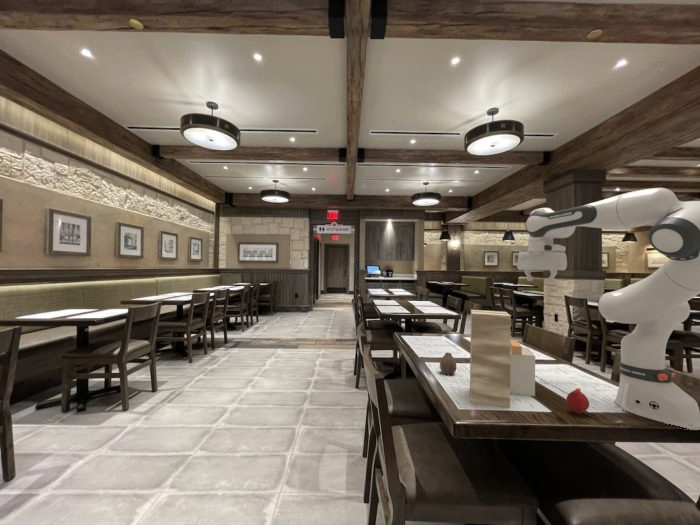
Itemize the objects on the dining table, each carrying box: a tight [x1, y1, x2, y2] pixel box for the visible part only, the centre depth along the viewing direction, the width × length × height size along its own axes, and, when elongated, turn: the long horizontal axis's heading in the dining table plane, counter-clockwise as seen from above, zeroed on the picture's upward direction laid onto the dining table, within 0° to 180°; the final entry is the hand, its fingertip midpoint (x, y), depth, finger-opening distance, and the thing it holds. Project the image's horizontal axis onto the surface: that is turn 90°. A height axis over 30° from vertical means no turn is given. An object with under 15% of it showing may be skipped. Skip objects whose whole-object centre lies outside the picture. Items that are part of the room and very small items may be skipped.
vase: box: [439, 352, 457, 375], centre depth 141 cm, size 7×7×9 cm
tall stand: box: [469, 309, 512, 408], centre depth 114 cm, size 12×12×30 cm
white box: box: [510, 346, 536, 397], centre depth 125 cm, size 13×12×14 cm
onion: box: [566, 387, 590, 415], centre depth 103 cm, size 6×6×8 cm
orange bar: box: [510, 336, 523, 355], centre depth 127 cm, size 19×3×3 cm, turn 161°
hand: (540, 281), depth 134 cm, fingers open, 8 cm apart
